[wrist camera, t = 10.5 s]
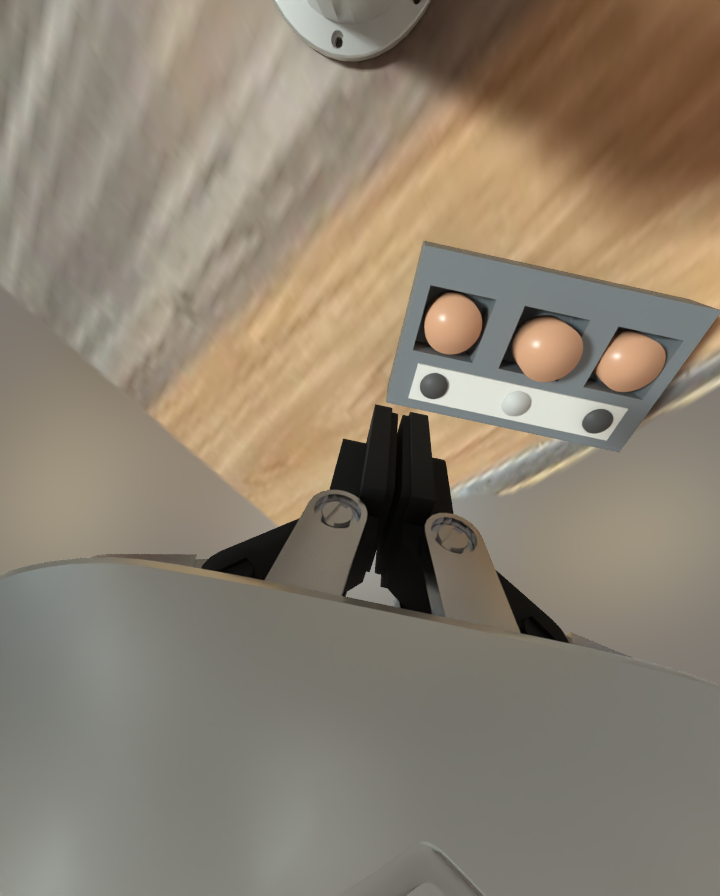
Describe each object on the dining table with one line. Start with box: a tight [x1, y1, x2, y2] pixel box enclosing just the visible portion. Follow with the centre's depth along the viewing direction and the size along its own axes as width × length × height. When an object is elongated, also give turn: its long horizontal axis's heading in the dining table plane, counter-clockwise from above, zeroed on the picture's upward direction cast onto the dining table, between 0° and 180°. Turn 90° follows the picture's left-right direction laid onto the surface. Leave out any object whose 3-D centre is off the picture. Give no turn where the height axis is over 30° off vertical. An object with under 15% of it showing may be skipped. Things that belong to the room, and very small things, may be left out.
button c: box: [592, 328, 666, 392], centre depth 33 cm, size 5×5×3 cm
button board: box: [386, 241, 720, 452], centre depth 34 cm, size 14×24×4 cm, turn 80°
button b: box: [511, 315, 583, 382], centre depth 31 cm, size 5×5×3 cm
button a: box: [423, 290, 482, 355], centre depth 33 cm, size 5×5×3 cm
